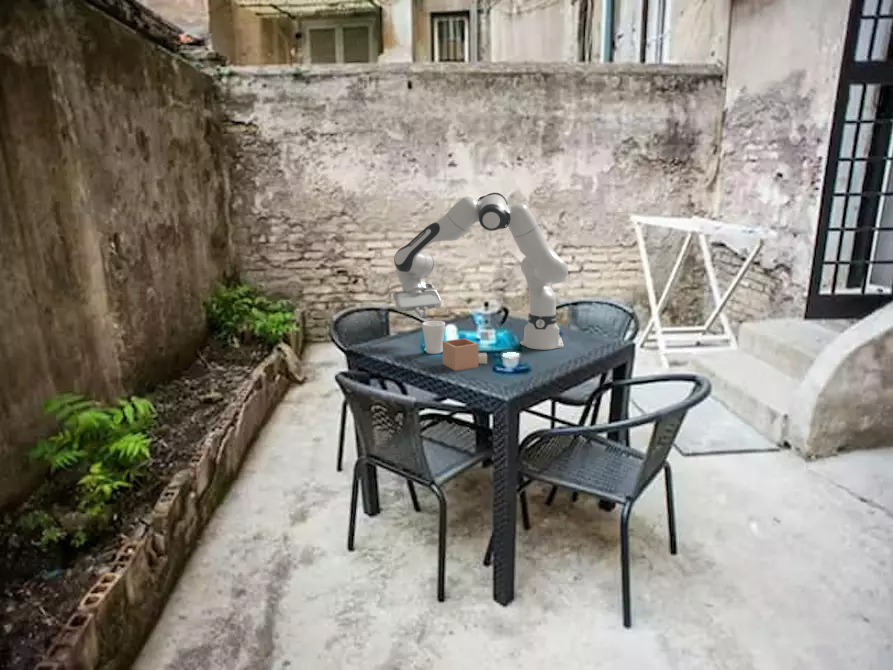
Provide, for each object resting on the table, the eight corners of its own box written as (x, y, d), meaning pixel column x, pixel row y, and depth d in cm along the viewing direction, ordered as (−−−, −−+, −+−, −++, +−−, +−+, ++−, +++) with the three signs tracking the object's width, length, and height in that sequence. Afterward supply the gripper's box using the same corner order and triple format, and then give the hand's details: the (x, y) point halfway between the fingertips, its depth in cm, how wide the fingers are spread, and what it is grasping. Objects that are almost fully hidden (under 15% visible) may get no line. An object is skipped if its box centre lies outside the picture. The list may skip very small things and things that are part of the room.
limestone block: (473, 362, 235) (473, 352, 234) (486, 362, 235) (486, 352, 234) (474, 366, 230) (474, 356, 229) (487, 366, 230) (487, 356, 229)
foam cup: (419, 356, 244) (419, 325, 241) (427, 350, 253) (426, 320, 250) (441, 357, 242) (441, 326, 238) (448, 351, 250) (448, 321, 247)
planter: (442, 366, 230) (442, 341, 227) (465, 362, 234) (465, 338, 232) (455, 373, 221) (455, 347, 219) (478, 369, 226) (478, 343, 223)
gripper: (393, 288, 250) (403, 315, 244) (436, 284, 259) (447, 310, 253) (389, 296, 255) (399, 323, 249) (432, 292, 264) (442, 318, 258)
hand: (423, 316), depth 251 cm, fingers closed
